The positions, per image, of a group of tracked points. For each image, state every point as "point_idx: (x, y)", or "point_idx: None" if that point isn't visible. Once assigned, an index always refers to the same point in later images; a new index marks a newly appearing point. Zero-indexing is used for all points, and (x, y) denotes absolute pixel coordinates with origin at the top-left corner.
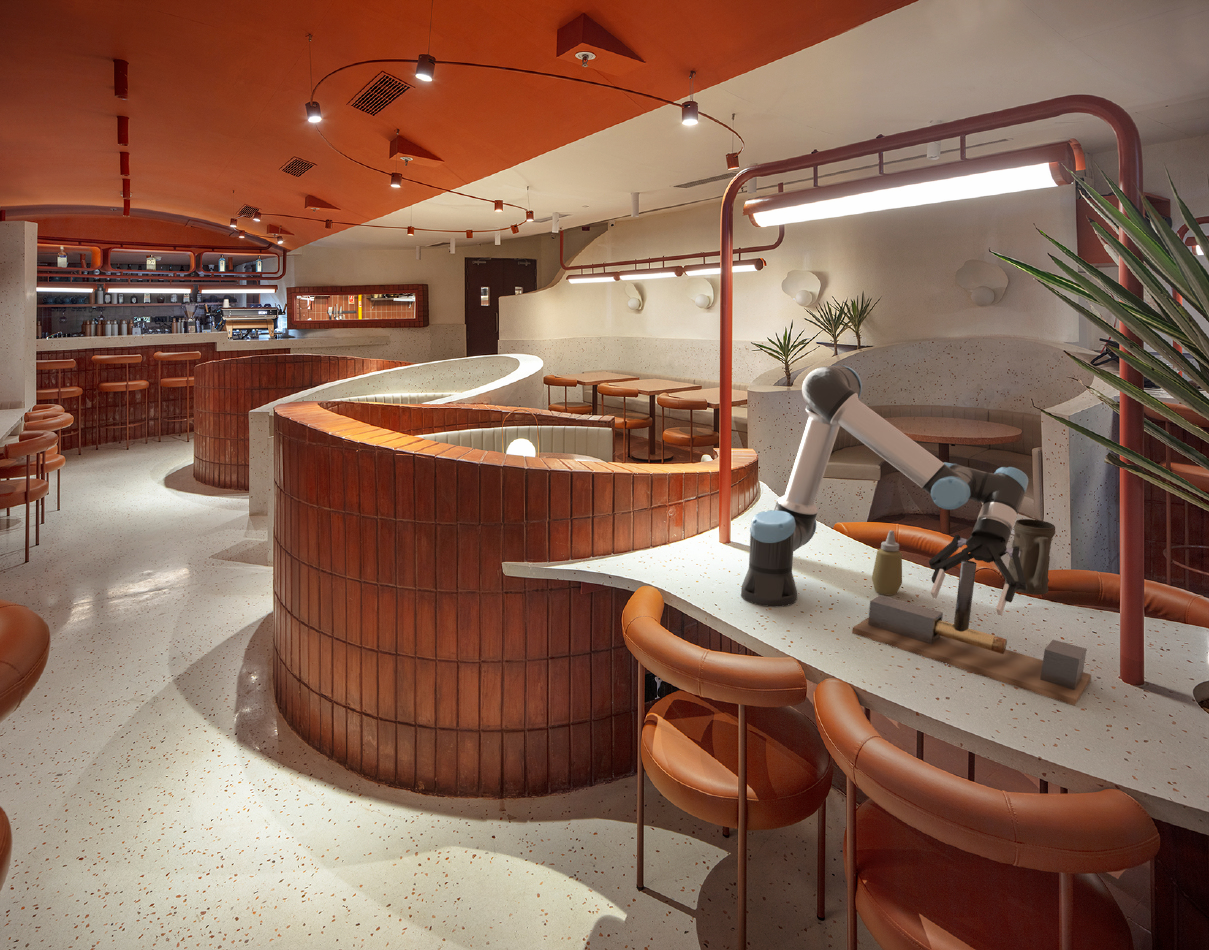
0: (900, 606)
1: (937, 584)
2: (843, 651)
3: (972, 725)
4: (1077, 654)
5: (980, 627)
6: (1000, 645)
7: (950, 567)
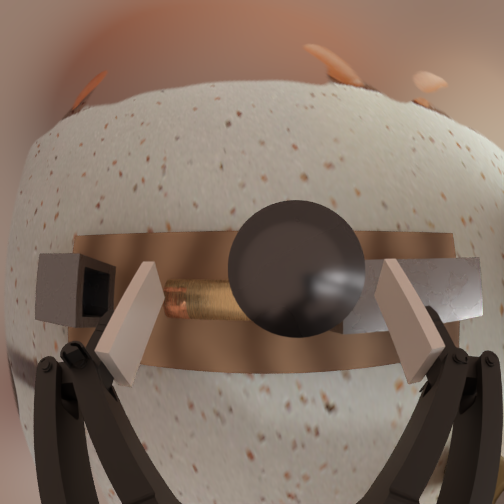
0: (432, 279)
1: (399, 285)
2: (411, 158)
3: (184, 93)
4: (41, 275)
5: (280, 468)
6: (172, 280)
7: (412, 417)
